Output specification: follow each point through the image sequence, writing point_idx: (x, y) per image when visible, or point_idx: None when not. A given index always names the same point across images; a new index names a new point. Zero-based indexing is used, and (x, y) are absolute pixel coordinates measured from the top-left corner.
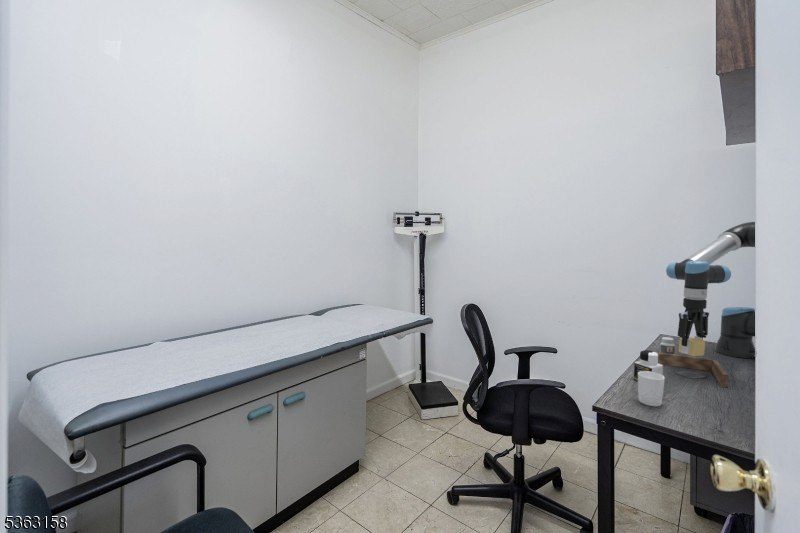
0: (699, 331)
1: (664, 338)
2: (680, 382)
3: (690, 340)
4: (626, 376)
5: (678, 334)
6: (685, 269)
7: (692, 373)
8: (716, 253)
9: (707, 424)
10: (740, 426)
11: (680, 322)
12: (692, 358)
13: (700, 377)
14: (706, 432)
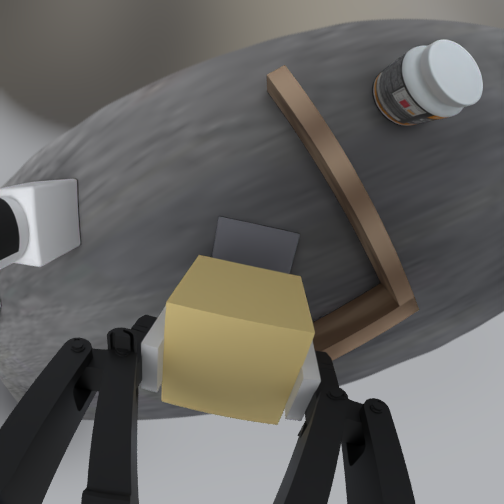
0: (297, 450)
1: (439, 55)
2: (131, 280)
3: (181, 377)
4: (32, 158)
5: (64, 351)
6: None
7: (275, 261)
8: None
9: (23, 379)
10: None
11: (4, 444)
12: (367, 239)
13: None
14: (10, 381)
